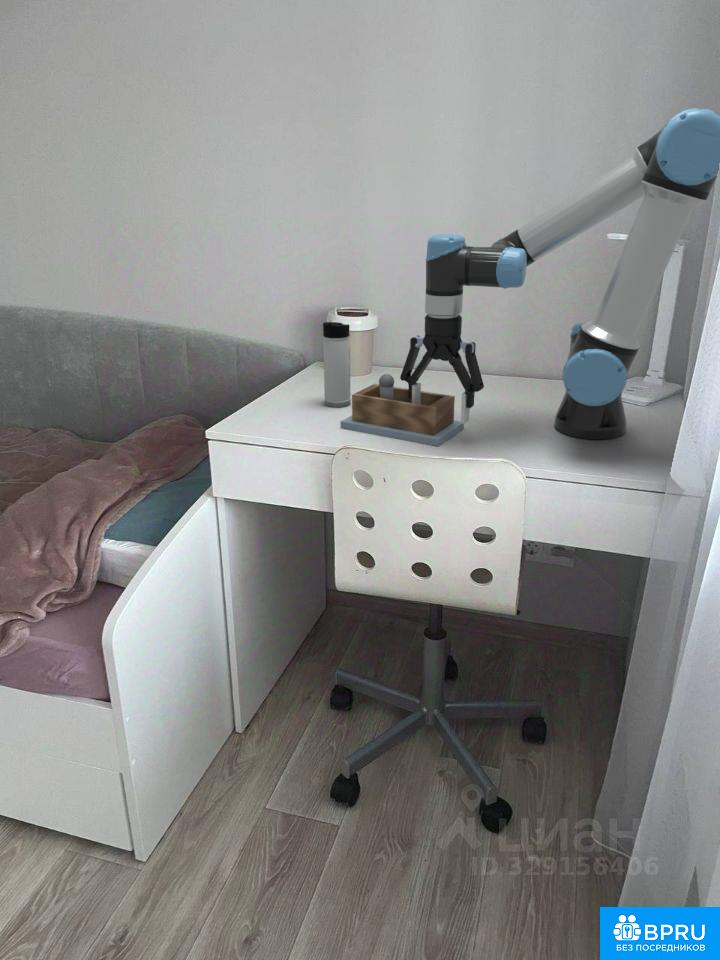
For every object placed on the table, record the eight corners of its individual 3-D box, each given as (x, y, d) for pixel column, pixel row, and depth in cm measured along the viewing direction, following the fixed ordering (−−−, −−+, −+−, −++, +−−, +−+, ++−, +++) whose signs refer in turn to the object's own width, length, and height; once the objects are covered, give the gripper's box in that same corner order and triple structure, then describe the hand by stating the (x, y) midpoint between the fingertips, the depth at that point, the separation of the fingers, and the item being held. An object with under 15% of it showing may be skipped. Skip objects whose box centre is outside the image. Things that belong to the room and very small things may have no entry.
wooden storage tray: (453, 422, 174) (454, 396, 172) (433, 435, 166) (434, 408, 164) (374, 408, 184) (374, 383, 181) (352, 420, 176) (352, 394, 174)
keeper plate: (464, 428, 175) (466, 376, 171) (438, 446, 165) (440, 392, 160) (369, 411, 186) (369, 363, 182) (340, 427, 176) (339, 376, 172)
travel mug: (318, 404, 192) (316, 321, 184) (338, 398, 197) (336, 317, 189) (336, 409, 188) (334, 325, 180) (356, 403, 192) (355, 321, 185)
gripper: (504, 316, 159) (497, 421, 167) (401, 306, 170) (400, 404, 178) (490, 323, 153) (484, 431, 161) (384, 312, 164) (383, 413, 172)
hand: (440, 417), depth 170 cm, fingers open, 11 cm apart
